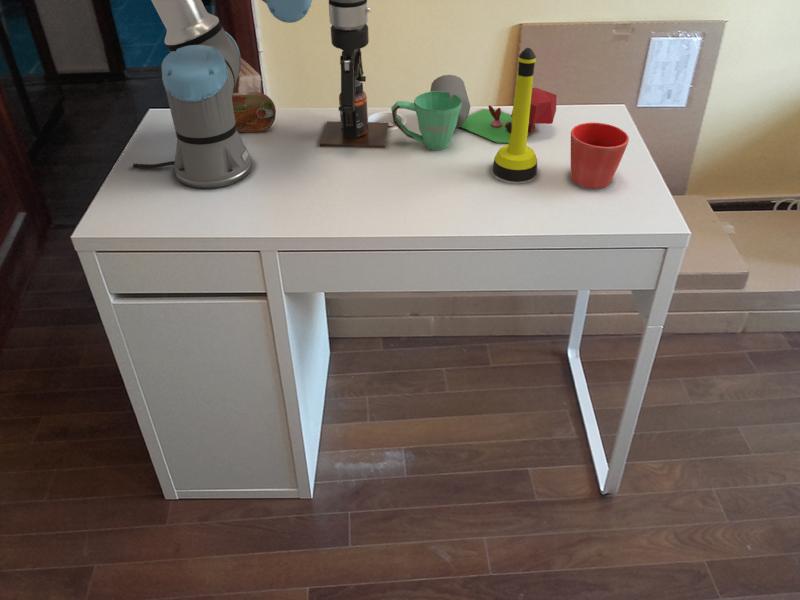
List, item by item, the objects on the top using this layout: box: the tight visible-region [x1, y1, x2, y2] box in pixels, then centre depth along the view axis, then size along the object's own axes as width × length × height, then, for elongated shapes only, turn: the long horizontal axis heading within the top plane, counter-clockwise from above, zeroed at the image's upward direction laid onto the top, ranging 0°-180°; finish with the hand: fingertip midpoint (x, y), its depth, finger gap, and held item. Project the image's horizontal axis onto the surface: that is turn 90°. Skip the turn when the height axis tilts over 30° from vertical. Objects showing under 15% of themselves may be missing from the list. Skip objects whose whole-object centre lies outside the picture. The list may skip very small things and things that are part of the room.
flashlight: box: [491, 47, 538, 185], centre depth 131 cm, size 25×9×9 cm
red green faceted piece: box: [459, 87, 558, 144], centre depth 151 cm, size 15×20×9 cm
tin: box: [232, 91, 277, 133], centre depth 152 cm, size 15×3×8 cm, turn 92°
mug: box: [390, 91, 462, 151], centre depth 145 cm, size 15×10×10 cm
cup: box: [429, 74, 471, 130], centre depth 152 cm, size 10×9×10 cm
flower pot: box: [570, 122, 630, 190], centre depth 133 cm, size 11×11×10 cm
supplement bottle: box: [338, 80, 369, 137], centre depth 148 cm, size 6×6×11 cm
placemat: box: [319, 120, 389, 148], centre depth 152 cm, size 14×11×1 cm
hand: (354, 124), depth 150 cm, fingers open, 13 cm apart
